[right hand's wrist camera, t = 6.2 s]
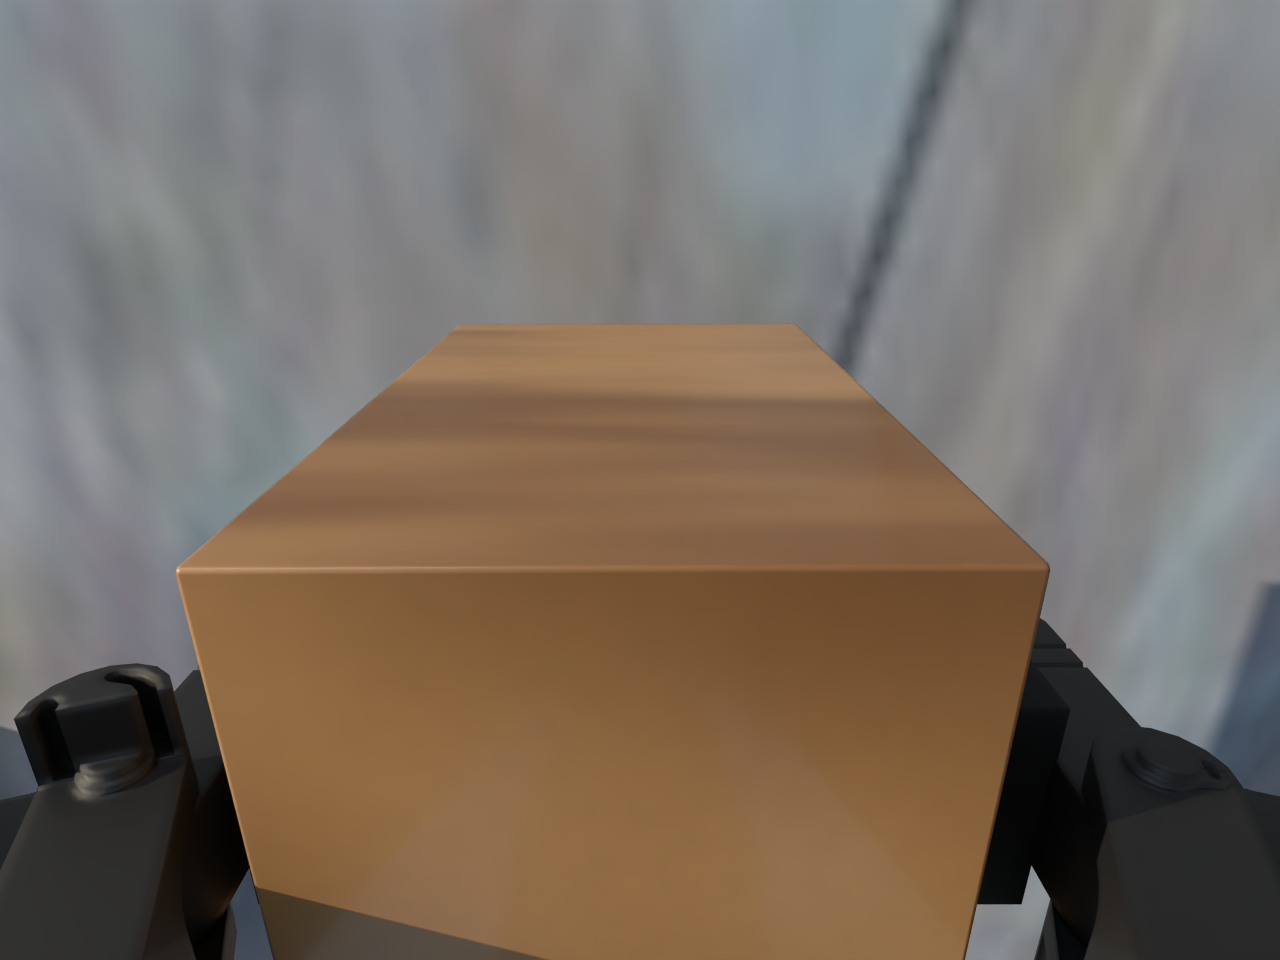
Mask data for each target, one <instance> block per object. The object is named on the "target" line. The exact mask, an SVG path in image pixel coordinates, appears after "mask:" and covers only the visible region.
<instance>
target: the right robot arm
mask: <svg viewBox="0 0 1280 960" xmlns="http://www.w3.org/2000/svg"><path fill="white" fill-rule="evenodd" d="M14 721H15V723H16V726H17V729H18V732H19V734H20V737H21V740H22V742H23V745H24V748H25V751H26V753H27V756H28V759H29V762H30V764H31V767H32V770H33V772H34V775H35V778H36V781H37V783H38V786H39V787H38V789H37V791H36V792H34V793H31V794H27V795H22V796H17V797H13V798H8V799H3V800H0V960H234V952H235V943H236V934H237V931H236V925H235V919H234V914H233V910H232V906H231V902H230V901H231V899H232V897H233V896H234V894H235V892H236V890H237V889H238V887H239V885H240V883H241V881H242V880H243V878H244V876H245V874H246V873H247V871H248V869H249V868H250V865H249V861H248V857H247V853H246V849H245V845H244V841H243V837H242V833H241V829H240V825H239V821H238V817H237V813H236V810H235V806H234V802H233V798H232V794H231V790H230V786H229V782H228V778H227V774H226V770H225V766H224V762H223V758H222V754H221V750H220V746H219V742H218V739H217V735H216V731H215V727H214V723H213V719H212V715H211V711H210V707H209V703H208V699H207V695H206V691H205V687H204V683H203V679H202V675H201V672H200V668H199V665H198V670H193V671H192V673H191V674H190V675H189V676H188V677H187V678H186V679H185V680H184V681H183V683H182V684H181V685H180V686H179V687H178V688H177V689H176V690H175V691H173V687H172V683H171V679H170V676H169V674H167V673H166V672H164V671H163V670H162V669H160V668H159V667H157V666H151V665H144V664H137V663H136V664H125V665H114V666H108V667H104V668H100V669H97V670H93V671H89V672H85V673H82V674H79V675H77V676H75V677H72V678H70V679H68V680H65V681H63V682H61V683H59V684H56V685H54V686H52V687H50V688H49V689H47V690H46V691H44V692H43V693H41V694H40V695H38V696H37V697H35V698H34V699H32V700H31V701H29V702H28V703H27V704H26V706H25V707H24V708H23V709H22V710H21V711H20V712H19V714H18V715H17V716H16V717H15V718H14ZM1031 865H1032V867H1033V869H1034V870H1035V872H1036V874H1037V876H1038V877H1039V879H1040V881H1041V883H1042V885H1043V886H1044V888H1045V890H1046V892H1047V893H1048V895H1049V897H1050V902H1049V906H1048V910H1047V914H1046V917H1045V921H1044V925H1043V929H1042V932H1041V936H1040V940H1039V943H1038V947H1037V951H1036V955H1035V958H1034V960H1280V797H1279V796H1274V795H1270V794H1265V793H1260V792H1255V791H1251V790H1248V789H1244V788H1243V787H1242V785H1241V784H1240V783H1239V781H1238V780H1237V779H1236V777H1235V776H1234V775H1233V773H1232V772H1231V771H1230V769H1229V768H1228V767H1227V766H1226V765H1224V764H1223V763H1222V762H1221V761H1219V760H1218V759H1217V758H1215V757H1214V756H1213V755H1211V754H1210V753H1209V752H1208V751H1206V750H1204V749H1202V748H1200V747H1198V746H1196V745H1194V744H1192V743H1190V742H1188V741H1186V740H1184V739H1182V738H1180V737H1178V736H1175V735H1172V734H1168V733H1165V732H1162V731H1158V730H1155V729H1152V728H1144V727H1141V726H1140V725H1139V724H1138V723H1137V722H1136V721H1135V720H1134V719H1133V718H1132V717H1131V715H1130V714H1129V713H1128V712H1127V711H1126V710H1125V709H1124V708H1123V707H1122V705H1121V704H1120V703H1119V702H1118V701H1117V700H1116V699H1115V698H1114V697H1113V696H1112V694H1111V693H1110V692H1109V691H1108V690H1107V689H1106V688H1105V687H1104V686H1103V684H1102V683H1101V682H1100V681H1099V680H1098V679H1097V678H1096V677H1095V676H1094V675H1093V673H1092V672H1091V671H1090V670H1089V669H1088V668H1084V667H1083V662H1082V661H1081V660H1080V659H1079V658H1078V657H1077V656H1076V655H1075V654H1074V652H1073V651H1072V650H1071V649H1067V648H1066V644H1065V642H1064V641H1063V640H1062V639H1061V638H1060V637H1059V636H1058V635H1057V634H1056V633H1055V631H1054V630H1053V629H1052V628H1051V627H1050V626H1049V625H1048V624H1047V623H1046V622H1045V621H1044V620H1042V619H1039V623H1038V628H1037V632H1036V637H1035V641H1034V646H1033V651H1032V655H1031V660H1030V664H1029V669H1028V673H1027V678H1026V683H1025V687H1024V692H1023V696H1022V701H1021V705H1020V710H1019V714H1018V719H1017V724H1016V728H1015V733H1014V737H1013V742H1012V746H1011V751H1010V756H1009V760H1008V765H1007V769H1006V774H1005V778H1004V783H1003V788H1002V792H1001V797H1000V801H999V806H998V810H997V815H996V819H995V824H994V829H993V833H992V838H991V842H990V847H989V851H988V856H987V861H986V865H985V870H984V874H983V879H982V883H981V888H980V893H979V897H978V902H977V904H1022V900H1023V896H1024V892H1025V888H1026V884H1027V880H1028V876H1029V872H1030V868H1031ZM250 872H251V869H250ZM251 876H252V873H251ZM252 880H253V877H252ZM253 884H254V881H253ZM254 888H255V884H254ZM255 892H256V888H255ZM256 896H257V892H256ZM257 900H258V896H257ZM258 904H259V900H258Z"/></svg>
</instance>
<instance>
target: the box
mask: <svg viewBox="0 0 1280 960" xmlns="http://www.w3.org/2000/svg"><path fill="white" fill-rule="evenodd" d="M1049 573H1050V567H1049V564H1048V563H1047V562H1046V561H1045V560H1044V559H1043V558H1042V557H1041V556H1040V555H1039V554H1038V553H1037V552H1036V551H1035V550H1034V549H1032V548H1031V547H1030V546H1029V545H1028V544H1027V543H1026V542H1025V541H1024V540H1023V539H1022V538H1021V537H1020V536H1019V535H1018V534H1017V533H1016V532H1015V531H1014V530H1012V529H1011V528H1010V527H1009V526H1008V525H1007V524H1006V523H1005V522H1004V521H1003V520H1002V519H1001V518H1000V517H999V516H998V515H997V514H996V513H995V512H993V511H992V510H991V509H990V508H989V507H988V506H987V505H986V504H985V503H984V502H983V501H982V500H981V499H980V498H979V497H978V496H977V495H976V494H975V493H973V492H972V491H971V490H970V489H969V488H968V487H967V486H966V485H965V484H964V483H963V482H962V481H961V480H960V479H959V478H958V477H957V476H956V475H954V474H953V473H952V472H951V471H950V470H949V469H948V468H947V467H946V466H945V465H944V464H943V463H942V462H941V461H940V460H939V459H938V458H937V457H936V456H934V455H933V454H932V453H931V452H930V451H929V450H928V449H927V448H926V447H925V446H924V445H923V444H922V443H921V442H920V441H919V440H918V439H917V438H915V437H914V436H913V435H912V434H911V433H910V432H909V431H908V430H907V429H906V428H905V427H904V426H903V425H902V424H901V423H900V422H899V421H898V420H897V419H895V418H894V417H893V416H892V415H891V414H890V413H889V412H888V411H887V410H886V409H885V408H884V407H883V406H882V405H881V404H880V403H879V402H878V401H876V400H875V399H874V398H873V397H872V396H871V395H870V394H869V393H868V392H867V391H866V390H865V389H864V388H863V387H862V386H861V385H860V384H859V383H857V382H856V381H855V380H854V379H853V378H852V377H851V376H850V375H849V374H848V373H847V372H846V371H845V370H844V369H843V368H842V367H841V366H840V365H839V364H837V363H836V362H835V361H834V360H833V359H832V358H831V357H830V356H829V355H828V354H827V353H826V352H825V351H824V350H823V349H822V348H821V347H820V346H818V345H817V344H816V343H815V342H814V341H813V340H812V339H811V338H810V337H809V336H808V335H807V334H806V333H805V332H804V331H803V330H802V329H801V328H800V327H798V326H797V325H796V324H546V325H459V326H458V327H456V328H455V329H454V330H453V331H452V332H451V333H449V334H448V335H447V336H446V337H445V338H444V339H442V340H441V341H440V342H439V343H438V344H437V345H435V346H434V347H433V348H432V349H431V350H430V351H428V352H427V353H426V354H425V355H424V356H423V357H421V358H420V359H419V360H418V361H417V362H416V363H414V364H413V365H412V366H411V367H410V368H409V369H407V370H406V371H405V372H404V373H403V374H402V375H400V376H399V377H398V378H397V379H396V380H395V381H393V382H392V383H391V384H390V385H389V386H388V387H387V388H385V389H384V390H383V391H382V392H381V393H380V394H378V395H377V396H376V397H375V398H374V399H373V400H371V401H370V402H369V403H368V404H367V405H366V406H364V407H363V408H362V409H361V410H360V411H359V412H357V413H356V414H355V415H354V416H353V417H352V418H350V419H349V420H348V421H347V422H346V423H345V424H343V425H342V426H341V427H340V428H339V429H338V430H336V431H335V432H334V433H333V434H332V435H331V436H329V437H328V438H327V439H326V440H325V441H324V442H322V443H321V444H320V445H319V446H318V447H317V448H315V449H314V450H313V451H312V452H311V453H310V454H309V455H307V456H306V457H305V458H304V459H303V460H302V461H300V462H299V463H298V464H297V465H296V466H295V467H293V468H292V469H291V470H290V471H289V472H288V473H286V474H285V475H284V476H283V477H282V478H281V479H279V480H278V481H277V482H276V483H275V484H274V485H272V486H271V487H270V488H269V489H268V490H267V491H265V492H264V493H263V494H262V495H261V496H260V497H258V498H257V499H256V500H255V501H254V502H253V503H251V504H250V505H249V506H248V507H247V508H246V509H244V510H243V511H242V512H241V513H240V514H239V515H237V516H236V517H235V518H234V519H233V520H232V521H231V522H229V523H228V524H227V525H226V526H225V527H224V528H222V529H221V530H220V531H219V532H218V533H217V534H215V535H214V536H213V537H212V538H211V539H210V540H208V541H207V542H206V543H205V544H204V545H203V546H201V547H200V548H199V549H198V550H197V551H196V552H194V553H193V554H192V555H191V556H190V557H189V558H187V559H186V560H185V561H184V562H183V563H182V564H180V565H179V566H178V567H177V569H176V577H177V581H178V585H179V589H180V593H181V597H182V601H183V604H184V608H185V612H186V616H187V620H188V624H189V628H190V632H191V636H192V640H193V644H194V648H195V652H196V656H197V660H198V664H199V668H200V672H201V675H202V679H203V683H204V687H205V691H206V695H207V699H208V703H209V707H210V711H211V715H212V719H213V723H214V727H215V731H216V735H217V739H218V742H219V746H220V750H221V754H222V758H223V762H224V766H225V770H226V774H227V778H228V782H229V786H230V790H231V794H232V798H233V802H234V806H235V810H236V813H237V817H238V821H239V825H240V829H241V833H242V837H243V841H244V845H245V849H246V853H247V857H248V861H249V865H250V869H251V873H252V877H253V881H254V884H255V888H256V892H257V896H258V900H259V904H260V908H261V912H262V916H263V920H264V924H265V928H266V932H267V936H268V940H269V944H270V948H271V951H272V955H273V959H274V960H965V956H966V952H967V947H968V943H969V938H970V934H971V929H972V924H973V920H974V915H975V911H976V906H977V902H978V897H979V893H980V888H981V883H982V879H983V874H984V870H985V865H986V861H987V856H988V851H989V847H990V842H991V838H992V833H993V829H994V824H995V819H996V815H997V810H998V806H999V801H1000V797H1001V792H1002V788H1003V783H1004V778H1005V774H1006V769H1007V765H1008V760H1009V756H1010V751H1011V746H1012V742H1013V737H1014V733H1015V728H1016V724H1017V719H1018V714H1019V710H1020V705H1021V701H1022V696H1023V692H1024V687H1025V683H1026V678H1027V673H1028V669H1029V664H1030V660H1031V655H1032V651H1033V646H1034V641H1035V637H1036V632H1037V628H1038V623H1039V619H1040V614H1041V609H1042V605H1043V600H1044V596H1045V591H1046V587H1047V582H1048V578H1049Z"/></svg>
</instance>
